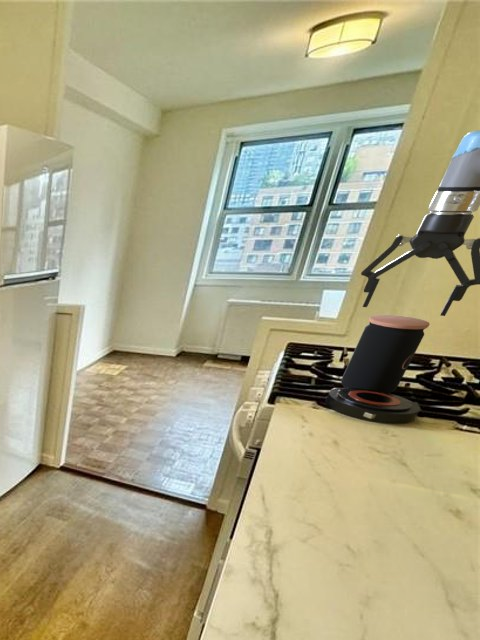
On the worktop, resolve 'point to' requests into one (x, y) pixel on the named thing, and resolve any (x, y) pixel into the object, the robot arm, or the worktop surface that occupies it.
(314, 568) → the worktop surface
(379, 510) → the worktop surface
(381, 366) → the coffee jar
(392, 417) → the hot plate
